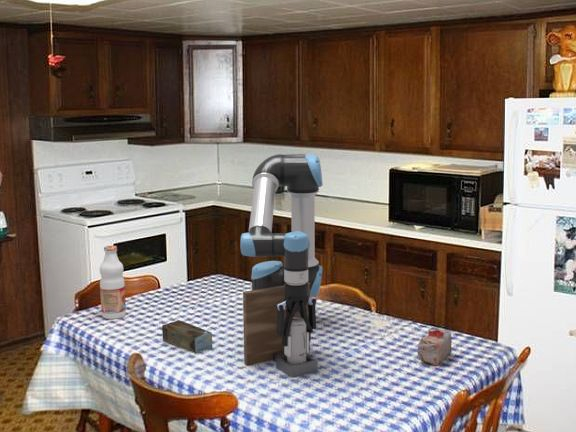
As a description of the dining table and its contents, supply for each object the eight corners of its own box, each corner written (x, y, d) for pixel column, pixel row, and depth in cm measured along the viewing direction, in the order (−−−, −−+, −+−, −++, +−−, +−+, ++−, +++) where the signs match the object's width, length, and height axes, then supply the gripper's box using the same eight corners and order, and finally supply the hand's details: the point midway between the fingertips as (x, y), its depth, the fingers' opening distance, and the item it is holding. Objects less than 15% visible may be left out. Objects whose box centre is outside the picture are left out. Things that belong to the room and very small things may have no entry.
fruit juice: (98, 315, 278) (94, 246, 273) (120, 310, 284) (117, 243, 279) (107, 321, 271) (103, 250, 266) (129, 316, 276) (126, 247, 271)
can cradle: (266, 361, 229) (266, 351, 228) (291, 355, 233) (291, 345, 233) (291, 377, 215) (291, 366, 215) (317, 371, 220) (317, 360, 219)
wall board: (244, 363, 227) (243, 291, 223) (306, 349, 239) (306, 281, 235) (247, 365, 225) (245, 293, 221) (309, 351, 237) (309, 282, 233)
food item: (439, 368, 222) (440, 338, 220) (415, 363, 226) (416, 334, 225) (453, 355, 234) (454, 326, 232) (430, 350, 238) (431, 322, 236)
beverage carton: (195, 354, 235) (194, 336, 234) (161, 341, 249) (160, 323, 247) (213, 348, 241) (212, 330, 240) (179, 335, 254) (178, 318, 253)
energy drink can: (304, 369, 218) (304, 323, 215) (285, 367, 219) (285, 322, 217) (307, 362, 224) (307, 317, 221) (289, 360, 225) (289, 316, 222)
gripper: (275, 289, 209) (276, 363, 213) (328, 280, 219) (328, 351, 222) (263, 283, 215) (264, 355, 219) (315, 275, 225) (315, 344, 229)
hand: (296, 353), depth 221 cm, fingers closed on energy drink can, 6 cm apart
